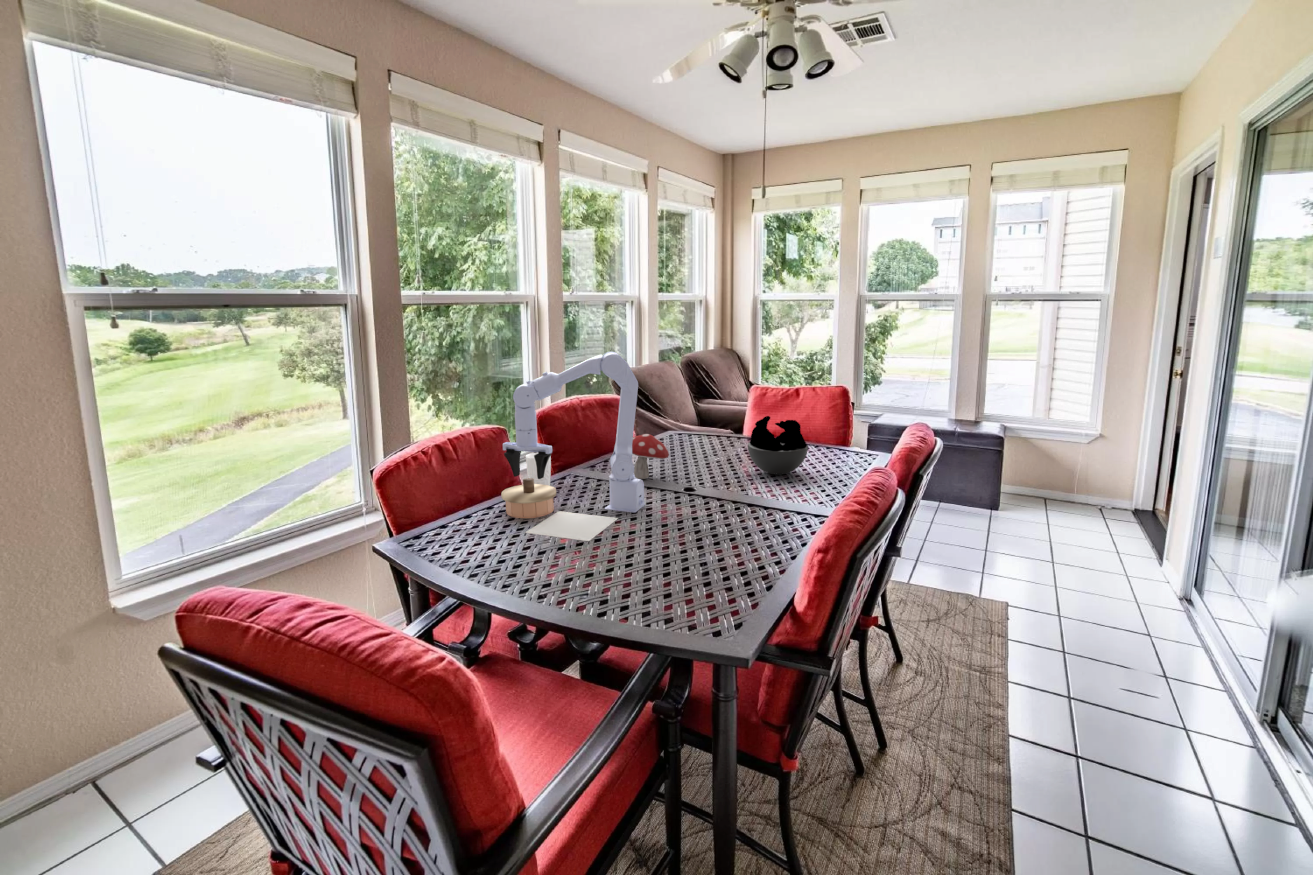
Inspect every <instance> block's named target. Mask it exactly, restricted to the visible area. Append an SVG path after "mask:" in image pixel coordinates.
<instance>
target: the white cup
mask: <svg viewBox="0 0 1313 875" xmlns="http://www.w3.org/2000/svg"><path fill="white" fill-rule="evenodd" d="M536 454H538V452H530V453H528V454H526V455H525V464H526V474H527V478H533V479H534V484H542V485H549V486H551V474H552V472H551V471H552V467H551V466H552V461H551V460H552V458H551V456H552V455H551V456H550V457H549V460H548V462H547V465H546V468H545V472H544V477H543V478H541V479H538V477H537V466H536V461H535V458H534V455H536Z"/></svg>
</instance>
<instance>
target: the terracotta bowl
mask: <svg viewBox="0 0 1313 875" xmlns="http://www.w3.org/2000/svg"><path fill="white" fill-rule="evenodd" d="M554 505H555V504H554V497H553V498H551V499H549V500H546V501H542V502H536V503H512V502H507V501H505V511H506V512H505V513H506V515H508V516H510V517H511V518H516V519H517V518H518V519H535V518H541V517H544V516H547V515H548V516H549V515H551V513H553V512H554V509H555V507H554Z"/></svg>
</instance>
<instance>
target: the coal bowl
mask: <svg viewBox="0 0 1313 875" xmlns="http://www.w3.org/2000/svg"><path fill="white" fill-rule="evenodd" d="M770 420H771V416H770V415H767V416H763V417H762V418H761V419H759V420H757V421H756V422H755V427H754V428H753V429H752V431H751V435H750V440H749V442H747V451H748V454H749V457H750V460H752V462H753V463H754V465H755V466H756V467H757V468H758V469H760V470H761V471H763V472H765V473H767V474H771V475H778V476H779V475H786V474H789V473H791V472H794V471H795V470H797V468H799V467H800V466H801V465H802V463H803V462H804V461H805V458H806V456H807V454H808V451H809V446H808V444H807V442H806V441H805V438H804V436H803V434H802V432H801V427H802V426H801V424H800V423H799V422H798V421H797V420H796V419H795V420H794V419H786V420H785V421H784V420H780V421H779V422H775V423H774V424H775V425H776V426H778V427H779V428H780V429H782V430H784V431H783V432H781V433H780V434H779V435H777V436H776V437H775V434H773V433H772V432H771V431H770V430H769V429H768V423H769V421H770Z"/></svg>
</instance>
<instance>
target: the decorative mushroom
mask: <svg viewBox="0 0 1313 875" xmlns="http://www.w3.org/2000/svg"><path fill="white" fill-rule="evenodd" d="M668 450H669V449H667V446H666V445H665V444H664V443H663V442H662V441H661V440H659V439H658V438H656V437H655V436H653V435H652V434H650V433H643V434H639V435H636V436H633V442H632V455H634V456H636V457H637V459H636V460H635V464H634V473H633V474H634V475H635V478H637V479H641V480H645V479H648V478H649V477H650V473H649V472H650V471H649V466H648V459H656V460H657V459H658V460H659V459H660V460H665V459H668V458H669V455H670V452H669V451H668Z"/></svg>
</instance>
